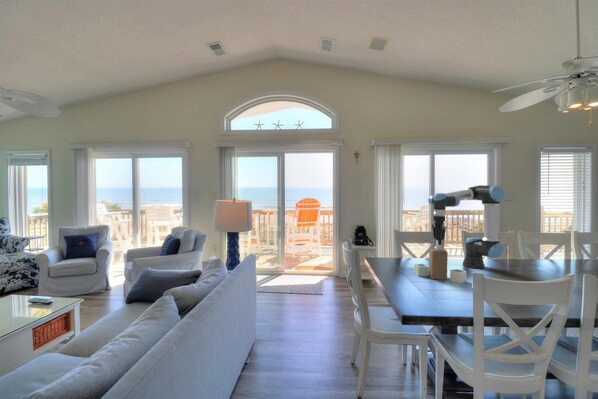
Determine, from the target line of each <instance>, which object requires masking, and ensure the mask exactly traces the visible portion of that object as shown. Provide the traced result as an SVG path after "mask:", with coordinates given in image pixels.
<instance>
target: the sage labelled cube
mask: <svg viewBox="0 0 598 399" xmlns="http://www.w3.org/2000/svg"><path fill="white" fill-rule="evenodd" d="M413 267H414V268H413V269H414V270H413V274H414V275H416V276H417V277H429V265H427V264H424V263H414V266H413Z"/></svg>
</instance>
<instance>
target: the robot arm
mask: <svg viewBox="0 0 598 399" xmlns="http://www.w3.org/2000/svg"><path fill="white" fill-rule="evenodd" d="M504 198H505V192H504V190H503V188H502V187H501V186H499V185H493V184H492V185H474V186H471V187H465V188H464V189H463V190H458V191H457V190H456V191H452V192H447V193H443V192H441V193H434V195H433V194H432V195H429V197H428V200H427V201H428V204H430V206H433V221H434V222H433V224H431V228H432V234H433V235H432V236H433V239H435V248H436V249H437V250H438V249H442V241H443V240H444V239H445V235H446V231H447V226H445V222H446V207H447V208H450V207H452V208H454V207H458V206H460V203H461V201H481V204H482V205H483V237H467V238H466V240H465V256H464V259H463V262H462V266H464V267H466V268H468V269H469V268H470V269H476V270H477V269H480V270H481V269H485V262H484V259H483V256H484V257H487V258H490V259H491V258H492V259H499V258H500V257H501V256H502V254H503V252H504V245H503V244H502V243H501V242H500V241H501V240H500V239H499V238H498V215H499V214H498V213H499V212H498V209H499V208H498V207H499V205H500V204H501V202H502V201H503V200H504Z"/></svg>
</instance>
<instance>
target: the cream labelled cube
mask: <svg viewBox="0 0 598 399" xmlns="http://www.w3.org/2000/svg"><path fill="white" fill-rule="evenodd" d="M449 281H452V282H453V283H454V282H455V283H457V284H462V282H463V283H465V281H466V282H467V270H466V271H465V270H462V269H458V268H455V269H450V272H449Z"/></svg>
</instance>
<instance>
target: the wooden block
mask: <svg viewBox="0 0 598 399" xmlns="http://www.w3.org/2000/svg"><path fill="white" fill-rule="evenodd" d="M448 252H449V251H447V250H446V249H445V248H441V249H438V250H437V249H436V247H433V248H432V247H431V248H429V255H428V257H429V259H428V261H429V262H428V277H430V278H431V279H432V280H439V281H440V280H441V281H442V280H443V281H447V279H448V256H449V254H448Z"/></svg>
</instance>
